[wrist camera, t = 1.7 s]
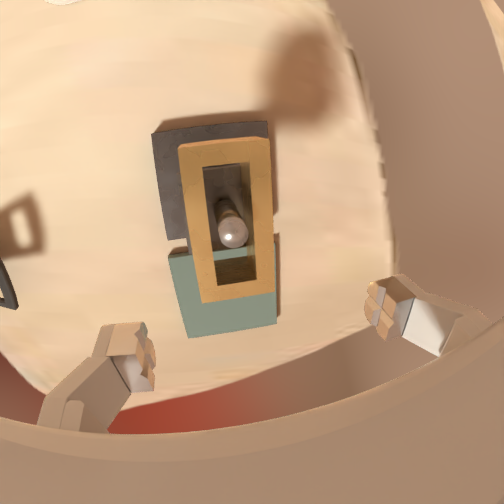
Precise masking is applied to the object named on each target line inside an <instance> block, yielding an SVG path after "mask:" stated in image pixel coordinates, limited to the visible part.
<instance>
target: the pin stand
mask: <svg viewBox="0 0 504 504" xmlns="http://www.w3.org/2000/svg"><path fill="white" fill-rule="evenodd" d="M151 136H152V145H153V153H154V161H155V168H156V175H157V182H158V188H159V194H160V201H161V206H162V212H163V218H164V223H165V229H166V234H167V239H168V240H175V239H181V238H186V239H187V245H188V251H189V255H190V254H193V253H192V247H191V241H190V235H189V229H188V223H187V216H186V209H185V203H184V195H183V188H182V181H181V173H180V165H179V156H178V147H179V146H180V145H181V144H186V143H194V142H201V141H210V140H219V139H229V138H240V137H254V136H257V137H262V138H267V139H268V132H267V121H255V122H239V123H227V124H216V125H207V126H198V127H191V128H183V129H177V130H170V131H164V132H158V133H153V134H151ZM202 171H203V180H204V189H205V197H206V206H207V214H208V222H209V230H210V237H211V245H212V251H217V250H224V249H231V248H238V247H245V246H246V241H247V239H248V229H247V227H246V225H245V222H244V209H243V195H242V182H241V168H240V163H232V164H222V165H214V166H206V167H202Z"/></svg>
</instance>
